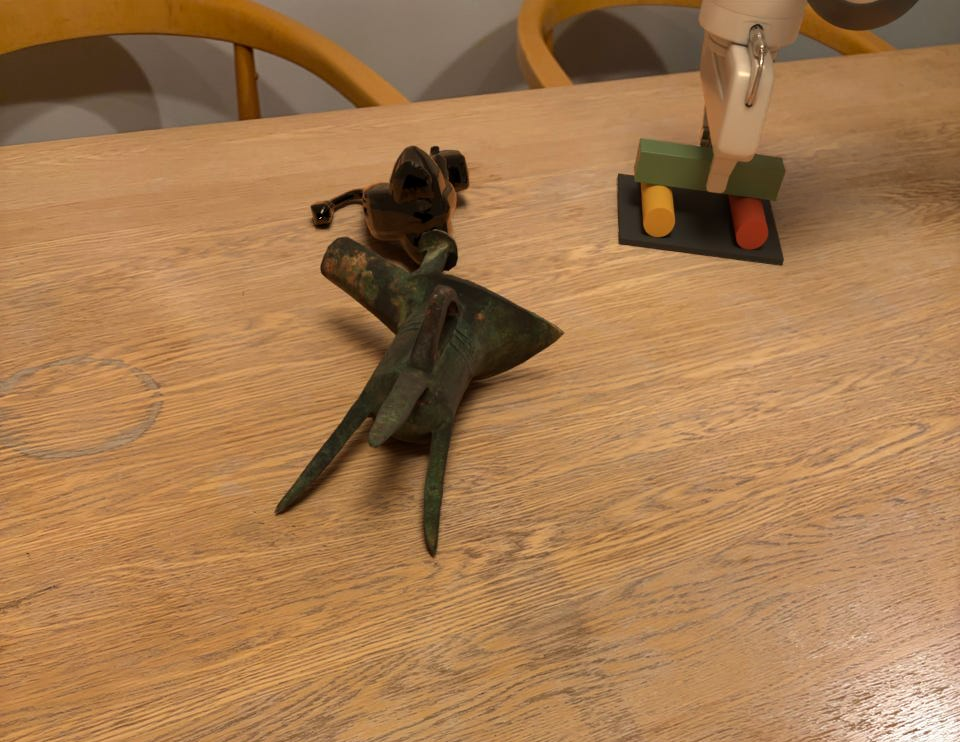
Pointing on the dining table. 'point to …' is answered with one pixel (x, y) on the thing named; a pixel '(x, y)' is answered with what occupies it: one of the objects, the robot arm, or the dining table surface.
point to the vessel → (424, 353)
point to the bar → (705, 169)
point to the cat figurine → (408, 197)
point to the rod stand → (697, 222)
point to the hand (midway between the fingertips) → (710, 167)
